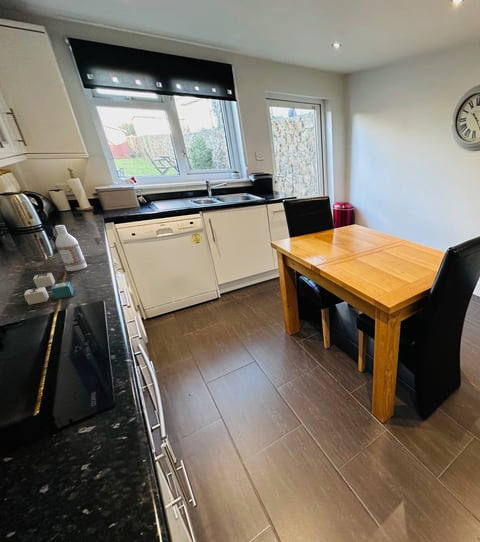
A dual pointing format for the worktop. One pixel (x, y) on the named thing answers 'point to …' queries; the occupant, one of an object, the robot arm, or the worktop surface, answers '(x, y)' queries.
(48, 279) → the tile
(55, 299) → the slot pad
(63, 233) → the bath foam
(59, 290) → the tile
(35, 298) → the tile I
